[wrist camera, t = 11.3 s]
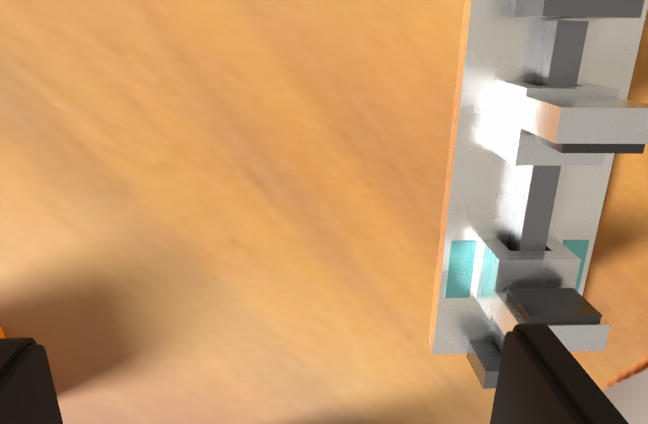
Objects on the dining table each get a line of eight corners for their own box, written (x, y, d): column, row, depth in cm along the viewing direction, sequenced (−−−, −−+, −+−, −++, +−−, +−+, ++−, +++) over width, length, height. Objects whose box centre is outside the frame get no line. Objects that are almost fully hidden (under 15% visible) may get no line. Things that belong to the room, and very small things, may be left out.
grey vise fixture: (465, -9, 34) (525, -21, 25) (636, -6, 34) (755, -16, 25) (427, 346, 44) (461, 428, 35) (560, 344, 44) (626, 424, 35)
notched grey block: (482, 240, 39) (526, 292, 31) (557, 239, 39) (619, 291, 31) (474, 296, 40) (514, 358, 33) (546, 295, 41) (602, 356, 33)
